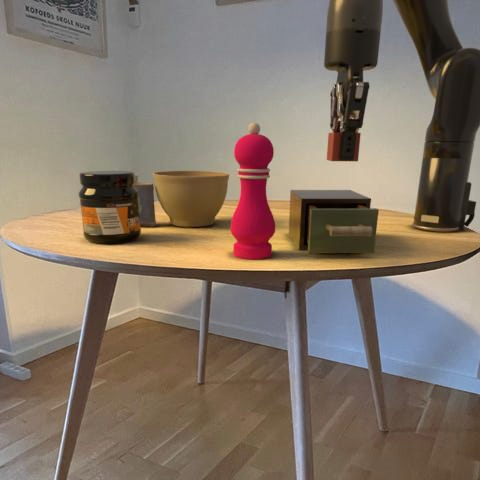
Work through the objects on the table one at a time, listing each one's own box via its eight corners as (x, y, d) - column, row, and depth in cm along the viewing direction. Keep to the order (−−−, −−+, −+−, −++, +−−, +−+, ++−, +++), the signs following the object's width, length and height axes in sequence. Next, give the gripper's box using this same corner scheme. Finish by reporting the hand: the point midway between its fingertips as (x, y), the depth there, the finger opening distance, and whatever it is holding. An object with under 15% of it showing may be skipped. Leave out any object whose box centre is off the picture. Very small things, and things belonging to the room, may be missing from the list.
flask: (158, 225, 101) (155, 174, 97) (149, 228, 99) (145, 175, 95) (125, 222, 105) (121, 172, 101) (116, 224, 103) (111, 173, 99)
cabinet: (366, 249, 80) (371, 198, 77) (299, 250, 80) (301, 198, 77) (346, 234, 93) (350, 189, 90) (288, 234, 93) (290, 189, 90)
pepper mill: (229, 250, 80) (228, 123, 72) (271, 249, 80) (274, 123, 73) (232, 260, 73) (231, 121, 66) (277, 259, 74) (282, 121, 66)
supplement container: (111, 247, 81) (104, 175, 77) (71, 240, 87) (63, 172, 82) (153, 237, 89) (149, 172, 85) (114, 231, 95) (108, 169, 90)
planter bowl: (174, 233, 93) (172, 176, 89) (144, 221, 106) (141, 171, 102) (243, 226, 101) (243, 173, 97) (207, 216, 114) (206, 169, 110)
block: (351, 160, 74) (354, 132, 73) (358, 161, 70) (360, 132, 69) (326, 160, 74) (328, 132, 72) (331, 161, 70) (333, 132, 69)
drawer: (383, 260, 70) (389, 214, 67) (314, 260, 69) (317, 214, 67) (353, 237, 86) (357, 199, 83) (297, 237, 86) (299, 199, 83)
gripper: (317, 40, 72) (310, 157, 79) (337, 18, 59) (327, 161, 65) (365, 40, 72) (355, 157, 79) (396, 19, 59) (380, 162, 65)
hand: (342, 159), depth 72 cm, fingers closed on block, 4 cm apart
